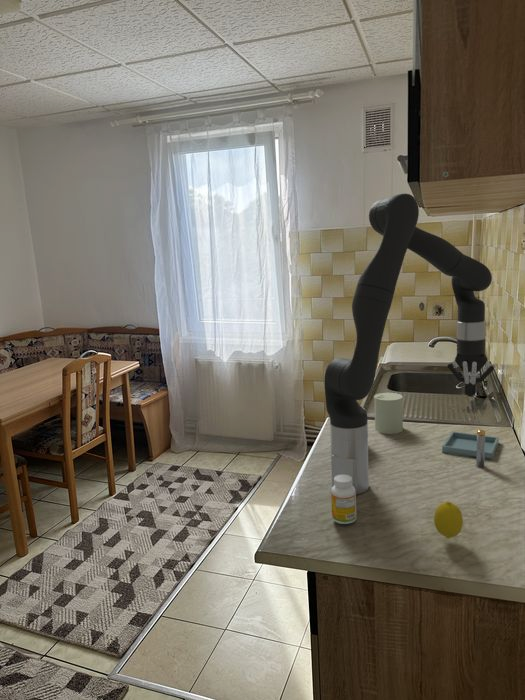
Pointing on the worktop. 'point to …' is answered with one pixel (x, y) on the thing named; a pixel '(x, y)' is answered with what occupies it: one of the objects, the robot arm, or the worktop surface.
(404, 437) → the worktop surface
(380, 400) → the can
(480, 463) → the orange-topped grey cylinder
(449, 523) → the lemon
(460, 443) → the tray
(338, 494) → the supplement bottle
